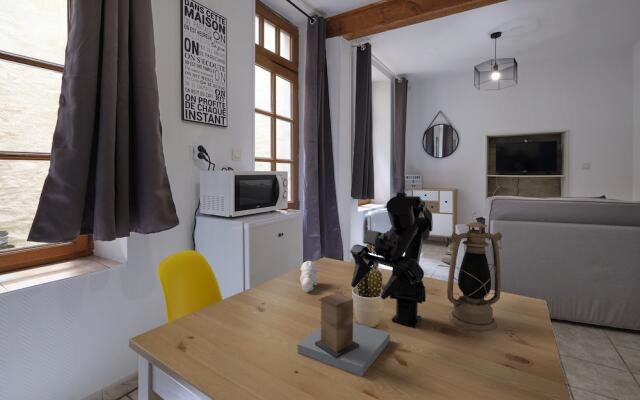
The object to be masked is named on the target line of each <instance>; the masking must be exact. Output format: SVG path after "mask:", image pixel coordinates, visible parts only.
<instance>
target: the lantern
mask: <svg viewBox="0 0 640 400" xmlns="http://www.w3.org/2000/svg"><path fill="white" fill-rule="evenodd" d="M475 214H476V212H474V213H473V214H472V216H474V215H475ZM480 221H481V219H479V220H478V222H477V221H476V222H474V221H472V222H470V223H467V224H466V223H465V226H467V227H468V230H467V232H463V233H462V232H461V233H459V234H458V233H456V232H455V231H454V232H452V234H451V235H450V237H451V239H452V240H453V241H452V247H450V250H449V251H450V262H449V270H448V278H447V279H448V280H447V291H446V292H447V294H446V295H447V296H446V297H447V299H448V301H449V302H450V303H451V304H453V310H452V311H451V312H450V313H449V315H448V319H449V321H450V322H452V323H453V324H454V325H456V326H459V327H461V328H462V329H465V330H469V331H475V332H490V331H493V330H496V329H497V328H498V322H497V321H496V319H495V318H494V317H493V316H494V315H493V313H494V308H493V307H492V306H491V305H494V304H495V303H497V302H498V301H499V300H500V299H501V291H502V290H501V287H502V286H501V260H500V250H501V249H502V247H501V246H499V244H498V242H499V241H500V243H502V238H503V234H502V233H501V231H497V232H495V233H494V234H493V233H490V232H485V228H487V227H488V225H487V224H483V223H481V222H480ZM475 228H478V229H475ZM463 239H466V240H464V241H462V240H463ZM486 239H490V241H491V245H490V243H488V242H486ZM461 241H462V244H463V245H465V246H466V248H465V250H464V251H465V253H464V254H463V258H462V261H461V263H460V267H457V266H456V265H457V259H458V253H459V248H460V246H461ZM490 246H491V247H492V254H493V264H490V263H488V258H487V254H486V252H487V251H486V248H487V247H490ZM490 266H491V269H490ZM493 268H494V269H493ZM456 269H458V270H459V271H458V272H459V273H458V276H457V278H456V277H455V271H456ZM492 270H494V271H493V272H494V273H493V274H492V276H491V272H492ZM493 276H494V292H491V290H492V278H493ZM454 280H456V281H457V285H458V288H459V290H460V292H461V293H462V295H460V294H459V293H457V295H458V296H459V297H458V298H457V299H456V298H455V297H454V283H455V281H454ZM490 292H491V293H490ZM489 294H492V295H493V294H494V295H493V296H492V297H491V298H489V299H487V297H488V296H489Z"/></svg>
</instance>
